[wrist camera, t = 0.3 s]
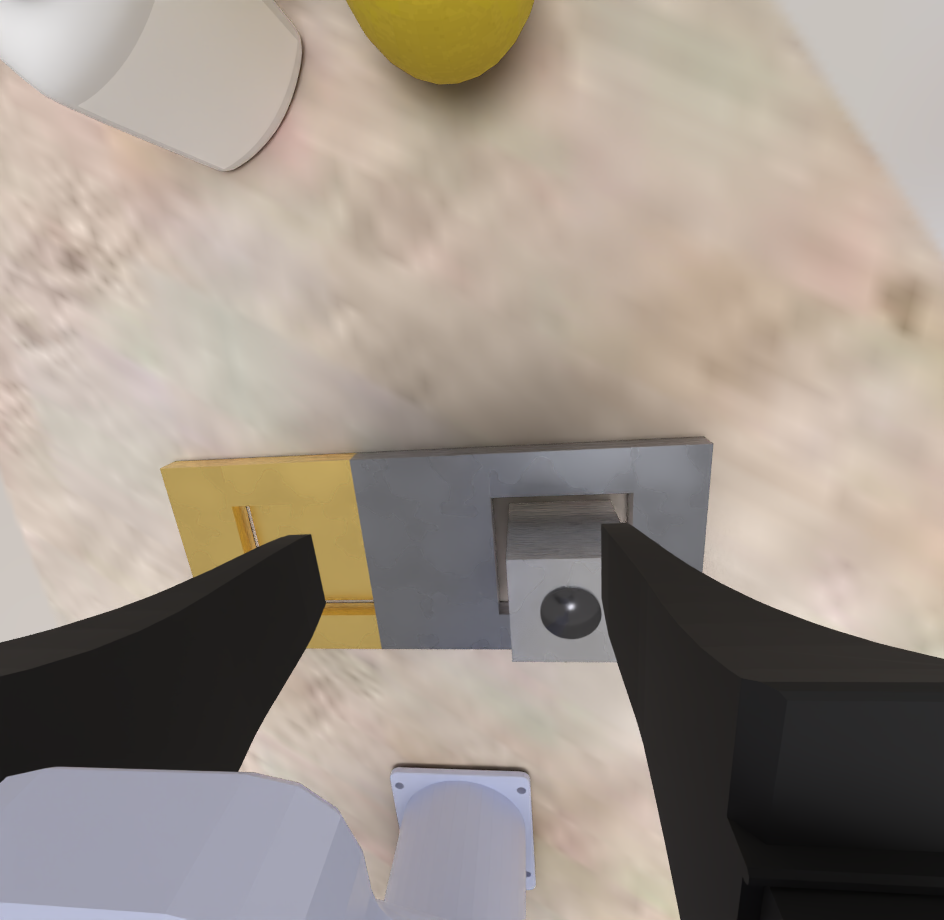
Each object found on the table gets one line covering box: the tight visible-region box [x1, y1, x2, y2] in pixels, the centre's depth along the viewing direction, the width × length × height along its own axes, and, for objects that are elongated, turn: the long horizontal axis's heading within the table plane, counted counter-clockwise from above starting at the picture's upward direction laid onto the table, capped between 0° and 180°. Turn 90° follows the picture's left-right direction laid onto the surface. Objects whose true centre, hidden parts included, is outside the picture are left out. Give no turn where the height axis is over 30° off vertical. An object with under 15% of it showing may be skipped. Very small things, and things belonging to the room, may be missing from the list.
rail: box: [160, 437, 713, 649], centre depth 22 cm, size 10×24×1 cm, turn 95°
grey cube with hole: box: [506, 500, 620, 662], centre depth 20 cm, size 4×4×5 cm
